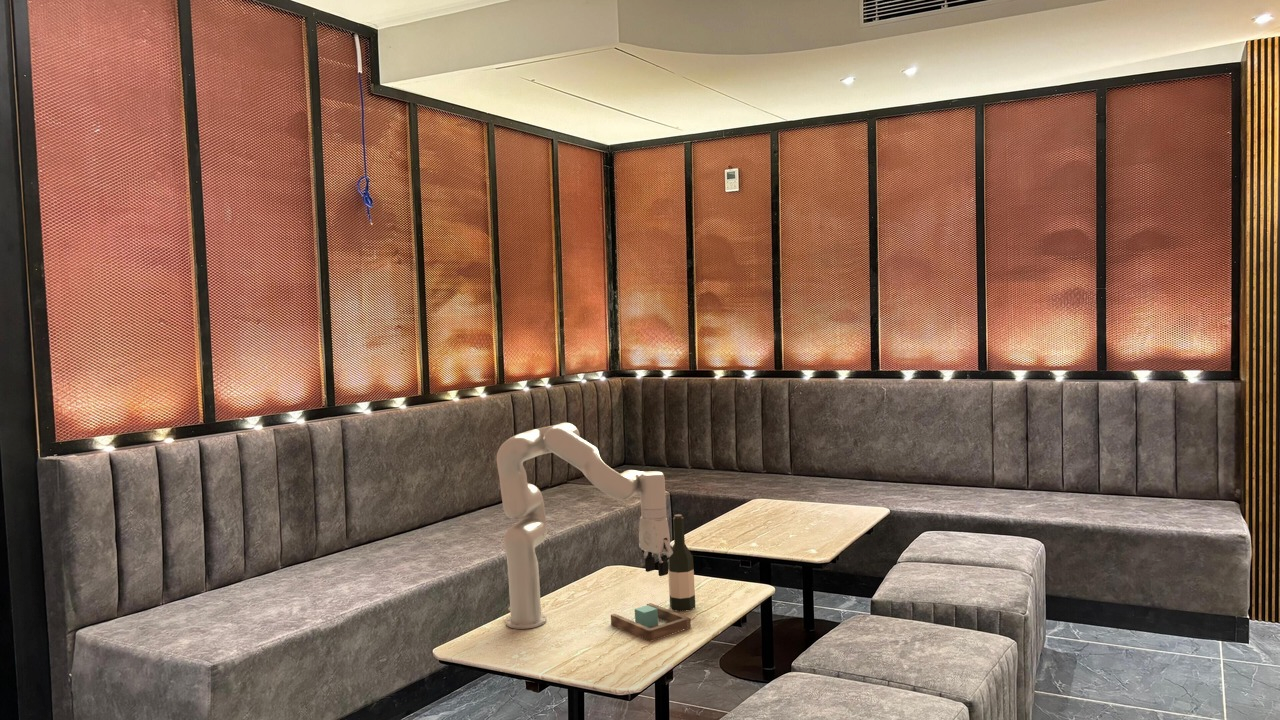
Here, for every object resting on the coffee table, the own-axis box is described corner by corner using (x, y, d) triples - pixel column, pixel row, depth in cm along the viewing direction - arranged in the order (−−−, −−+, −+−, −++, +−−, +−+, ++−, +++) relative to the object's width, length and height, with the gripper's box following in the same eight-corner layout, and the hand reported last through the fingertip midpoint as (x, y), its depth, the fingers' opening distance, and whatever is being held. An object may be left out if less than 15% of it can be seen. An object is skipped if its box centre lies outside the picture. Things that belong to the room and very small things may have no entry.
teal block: (635, 624, 268) (634, 608, 268) (648, 620, 271) (647, 605, 271) (645, 629, 264) (644, 612, 264) (658, 624, 267) (657, 608, 267)
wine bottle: (667, 611, 279) (662, 518, 277) (672, 602, 287) (668, 512, 285) (693, 611, 277) (688, 518, 275) (697, 603, 285) (693, 512, 283)
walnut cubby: (611, 624, 269) (610, 614, 269) (650, 612, 278) (650, 602, 278) (650, 641, 253) (649, 631, 253) (690, 627, 263) (690, 618, 263)
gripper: (626, 511, 265) (629, 569, 266) (661, 519, 252) (664, 581, 252) (646, 507, 270) (649, 564, 271) (681, 515, 256) (684, 576, 257)
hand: (656, 572), depth 262 cm, fingers open, 5 cm apart
